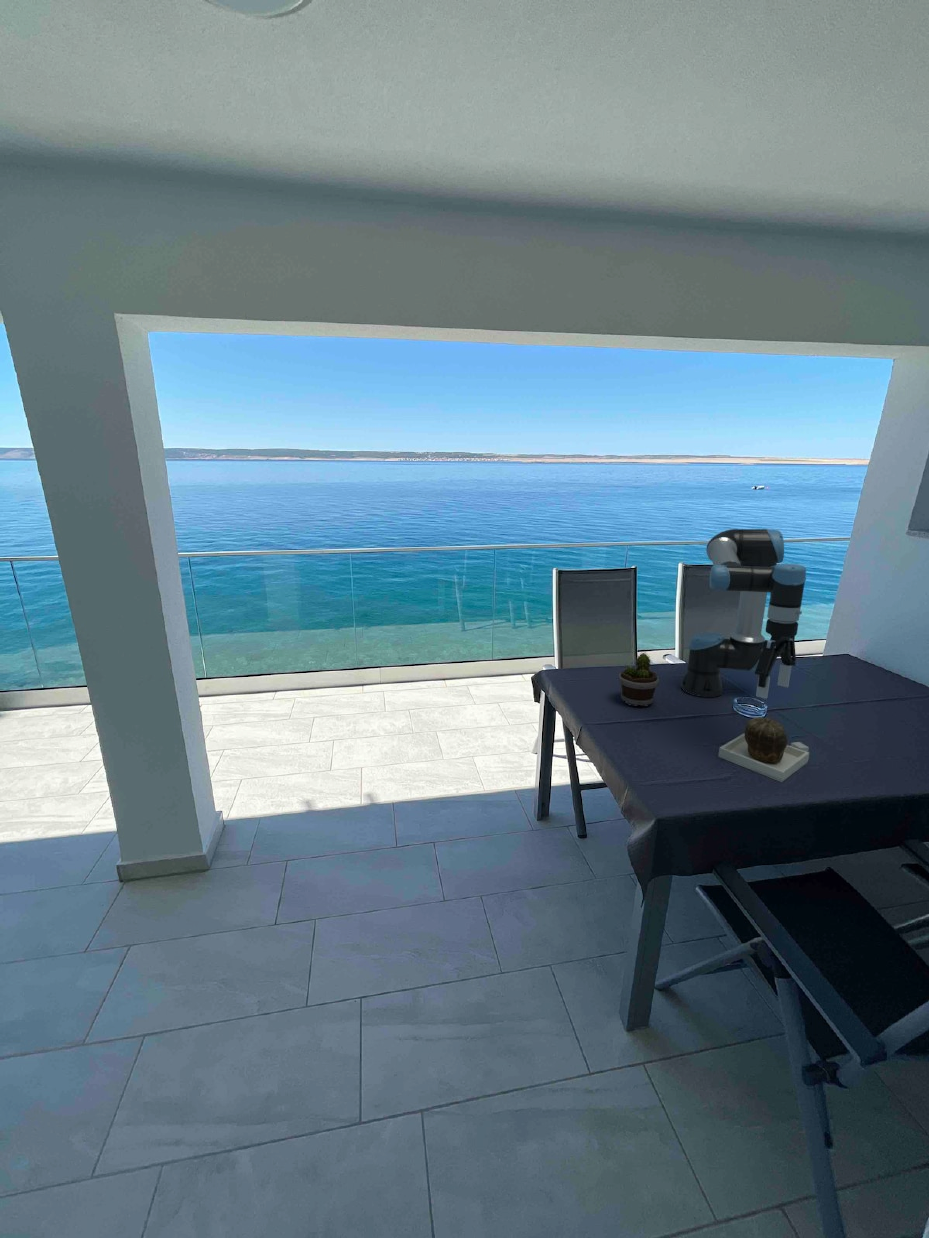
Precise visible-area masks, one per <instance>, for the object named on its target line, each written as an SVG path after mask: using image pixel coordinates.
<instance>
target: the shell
mask: <svg viewBox="0 0 929 1238" xmlns="http://www.w3.org/2000/svg"><path fill="white" fill-rule="evenodd" d="M744 733H745V740H746V742H747V744H748V753H749V754H750V756H751V757H752V758H754V759H755V760H758V761H760V762H763V763H769V764H777V763H778V762H780V760H781V759H782V757H783V754H784V750H785V748H786V746H787V745H788V736H787V734H786V729H785V728H784V727H783V725H782V724H781V723H780V722H778V721H776V720H773V719H772V718H770V717H765V718H764V717H763V716H757V717H753V718H751V719H749V720H748V721H747V722H746V724H745V730H744Z"/></svg>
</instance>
